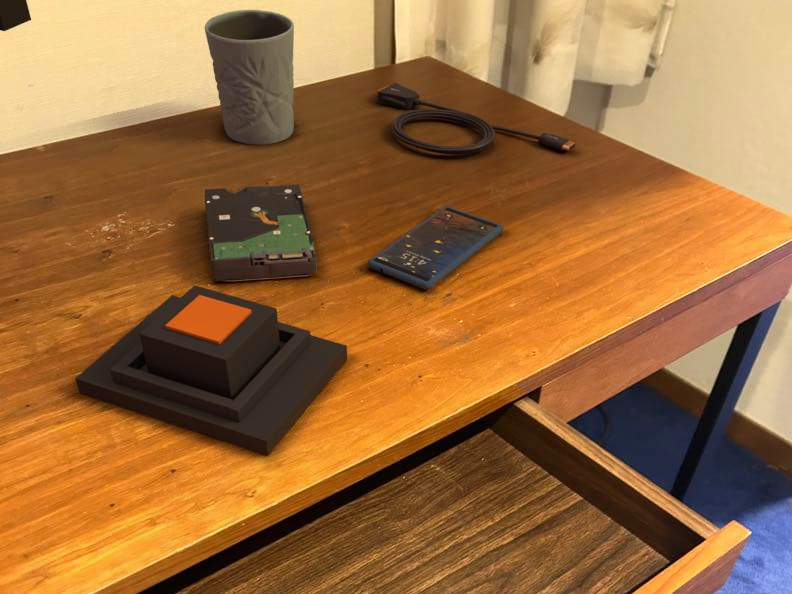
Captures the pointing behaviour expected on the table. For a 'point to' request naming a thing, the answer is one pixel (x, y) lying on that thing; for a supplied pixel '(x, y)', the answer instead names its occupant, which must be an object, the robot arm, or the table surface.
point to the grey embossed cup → (253, 74)
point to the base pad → (212, 414)
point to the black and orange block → (211, 341)
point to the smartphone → (435, 247)
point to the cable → (410, 99)
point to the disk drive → (259, 233)
